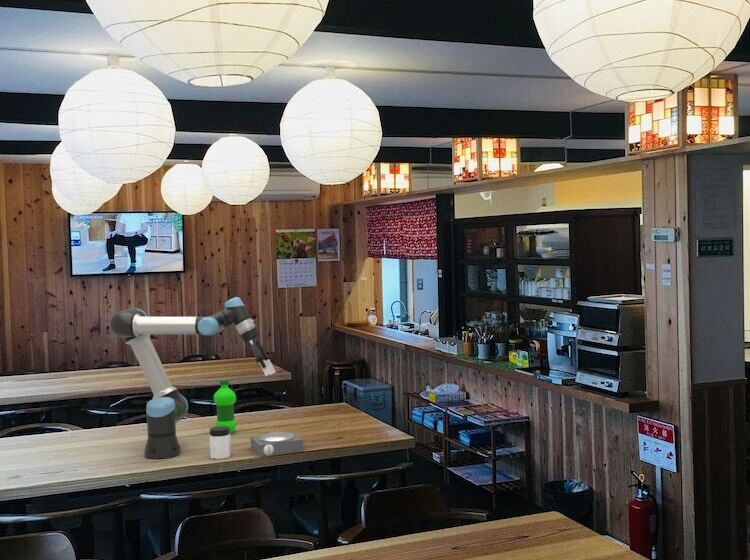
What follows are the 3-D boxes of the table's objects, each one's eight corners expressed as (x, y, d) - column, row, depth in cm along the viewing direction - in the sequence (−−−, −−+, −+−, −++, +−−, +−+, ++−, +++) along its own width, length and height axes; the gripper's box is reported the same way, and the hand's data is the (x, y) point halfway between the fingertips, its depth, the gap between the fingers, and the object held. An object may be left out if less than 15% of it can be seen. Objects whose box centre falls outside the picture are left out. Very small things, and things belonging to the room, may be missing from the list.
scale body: (259, 457, 337) (259, 445, 337) (251, 448, 352) (250, 436, 352) (303, 451, 344) (303, 439, 343) (293, 442, 359) (293, 431, 359)
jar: (206, 457, 338) (204, 429, 338) (219, 453, 345) (217, 425, 345) (222, 460, 334) (221, 431, 333) (235, 455, 341) (234, 427, 340)
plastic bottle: (226, 436, 374) (223, 382, 373) (210, 434, 381) (208, 381, 379) (241, 432, 382) (239, 379, 381) (226, 429, 389) (224, 377, 387)
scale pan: (263, 444, 338) (263, 442, 338) (255, 436, 352) (255, 434, 352) (298, 439, 344) (298, 438, 344) (289, 432, 358) (288, 430, 358)
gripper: (250, 325, 340) (274, 370, 339) (260, 327, 365) (282, 369, 363) (234, 334, 340) (258, 379, 338) (245, 335, 365) (267, 377, 363)
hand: (271, 374), depth 351 cm, fingers open, 13 cm apart
